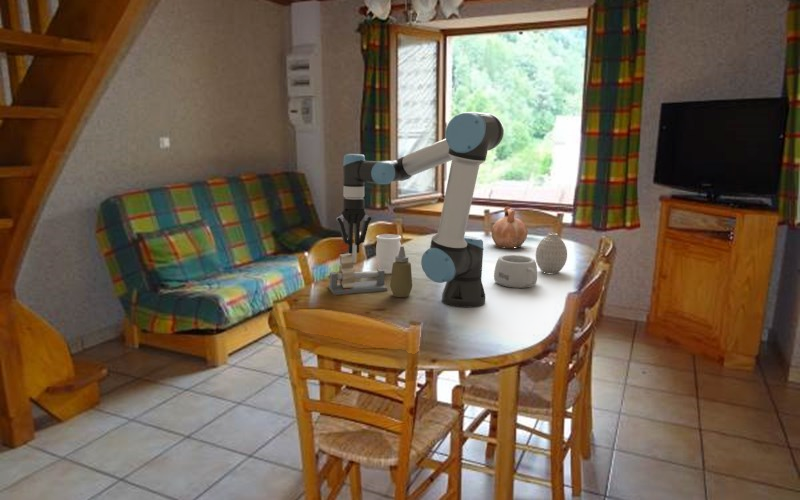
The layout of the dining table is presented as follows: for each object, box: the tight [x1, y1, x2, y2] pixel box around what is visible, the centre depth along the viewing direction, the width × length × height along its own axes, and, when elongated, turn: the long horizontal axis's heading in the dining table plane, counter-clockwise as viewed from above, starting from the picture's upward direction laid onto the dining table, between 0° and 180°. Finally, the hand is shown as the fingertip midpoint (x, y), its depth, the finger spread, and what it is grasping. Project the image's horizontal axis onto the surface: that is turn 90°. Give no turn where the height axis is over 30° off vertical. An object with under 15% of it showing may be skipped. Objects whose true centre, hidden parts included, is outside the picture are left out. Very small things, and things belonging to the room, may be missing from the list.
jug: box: [490, 206, 529, 248], centre depth 286 cm, size 18×18×20 cm
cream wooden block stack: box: [338, 253, 355, 288], centre depth 207 cm, size 7×4×11 cm, turn 19°
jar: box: [375, 233, 402, 275], centre depth 233 cm, size 11×10×15 cm
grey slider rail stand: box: [327, 268, 388, 296], centre depth 209 cm, size 10×20×7 cm, turn 109°
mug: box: [493, 254, 538, 289], centre depth 218 cm, size 21×17×10 cm
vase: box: [535, 232, 568, 274], centre depth 238 cm, size 13×13×17 cm
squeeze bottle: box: [389, 245, 413, 298], centre depth 201 cm, size 8×8×18 cm
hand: (353, 261), depth 207 cm, fingers closed
